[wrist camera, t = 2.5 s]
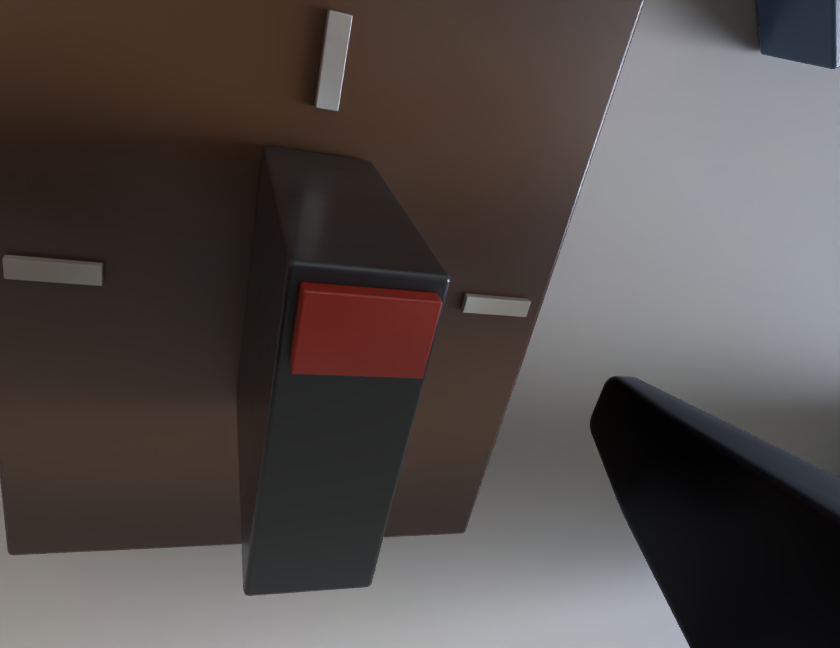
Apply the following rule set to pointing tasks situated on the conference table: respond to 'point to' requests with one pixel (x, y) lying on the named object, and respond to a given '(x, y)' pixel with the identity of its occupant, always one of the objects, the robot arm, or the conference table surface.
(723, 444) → the robot arm
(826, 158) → the conference table surface
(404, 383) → the dark grey box
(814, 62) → the switch block
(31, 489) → the dimmer panel
